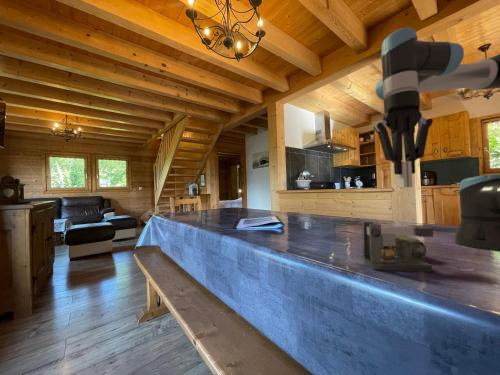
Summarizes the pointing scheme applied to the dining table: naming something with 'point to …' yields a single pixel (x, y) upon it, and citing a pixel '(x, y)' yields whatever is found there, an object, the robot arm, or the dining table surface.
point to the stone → (409, 247)
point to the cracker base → (377, 254)
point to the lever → (402, 233)
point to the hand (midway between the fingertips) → (405, 187)
